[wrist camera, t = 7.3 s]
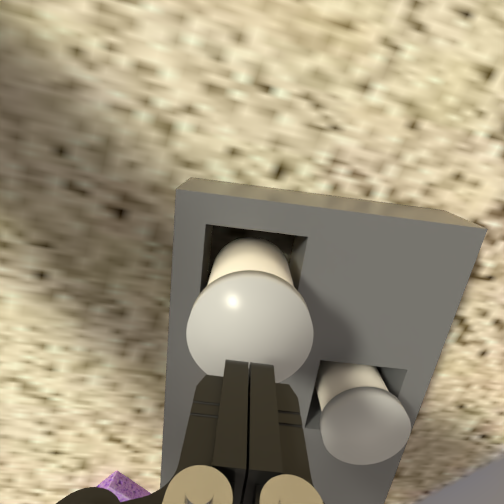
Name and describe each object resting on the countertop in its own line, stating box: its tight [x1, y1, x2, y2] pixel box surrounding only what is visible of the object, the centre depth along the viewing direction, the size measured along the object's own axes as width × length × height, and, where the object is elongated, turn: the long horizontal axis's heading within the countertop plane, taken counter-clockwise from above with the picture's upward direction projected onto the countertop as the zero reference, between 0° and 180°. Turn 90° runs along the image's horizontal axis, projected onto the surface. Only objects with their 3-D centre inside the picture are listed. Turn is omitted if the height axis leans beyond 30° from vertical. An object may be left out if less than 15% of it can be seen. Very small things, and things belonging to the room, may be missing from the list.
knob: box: [186, 237, 313, 383], centre depth 15 cm, size 5×5×6 cm
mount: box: [160, 178, 487, 504], centre depth 22 cm, size 22×15×4 cm
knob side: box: [315, 360, 411, 465], centre depth 21 cm, size 5×5×6 cm
